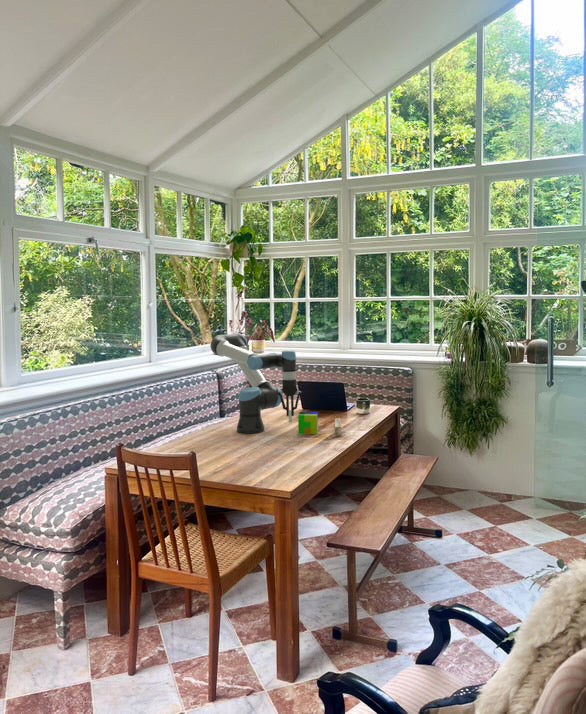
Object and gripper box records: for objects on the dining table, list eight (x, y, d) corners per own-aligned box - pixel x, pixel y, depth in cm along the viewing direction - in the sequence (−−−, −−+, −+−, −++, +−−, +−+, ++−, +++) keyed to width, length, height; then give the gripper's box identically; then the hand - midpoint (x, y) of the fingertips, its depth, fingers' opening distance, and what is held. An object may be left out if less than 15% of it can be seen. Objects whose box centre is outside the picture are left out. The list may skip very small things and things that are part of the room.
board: (335, 436, 327) (335, 426, 326) (335, 427, 349) (335, 418, 348) (340, 436, 327) (340, 426, 326) (340, 427, 348) (340, 418, 348)
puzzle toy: (318, 429, 343) (317, 411, 342) (317, 433, 333) (316, 415, 332) (300, 429, 344) (299, 411, 343) (298, 433, 334) (298, 415, 333)
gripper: (276, 380, 333) (277, 423, 335) (301, 379, 332) (302, 423, 334) (277, 378, 340) (279, 420, 343) (301, 377, 340) (302, 420, 342)
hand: (290, 422), depth 339 cm, fingers closed
